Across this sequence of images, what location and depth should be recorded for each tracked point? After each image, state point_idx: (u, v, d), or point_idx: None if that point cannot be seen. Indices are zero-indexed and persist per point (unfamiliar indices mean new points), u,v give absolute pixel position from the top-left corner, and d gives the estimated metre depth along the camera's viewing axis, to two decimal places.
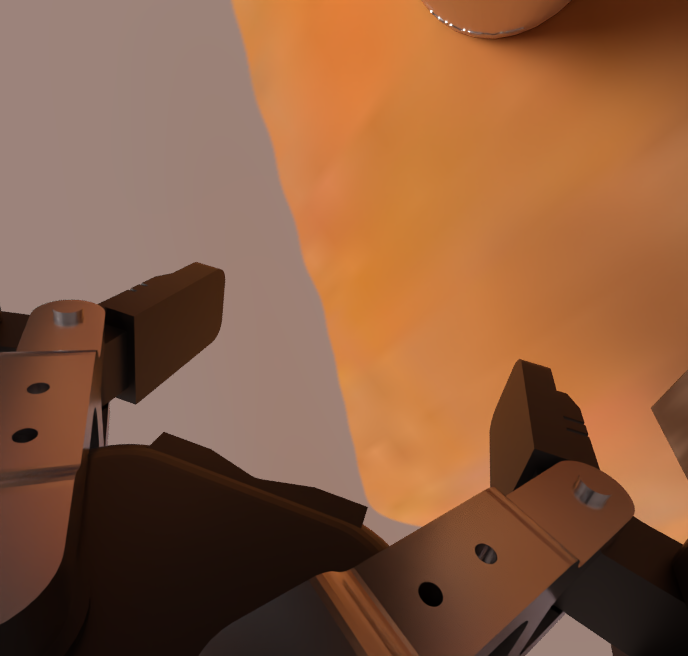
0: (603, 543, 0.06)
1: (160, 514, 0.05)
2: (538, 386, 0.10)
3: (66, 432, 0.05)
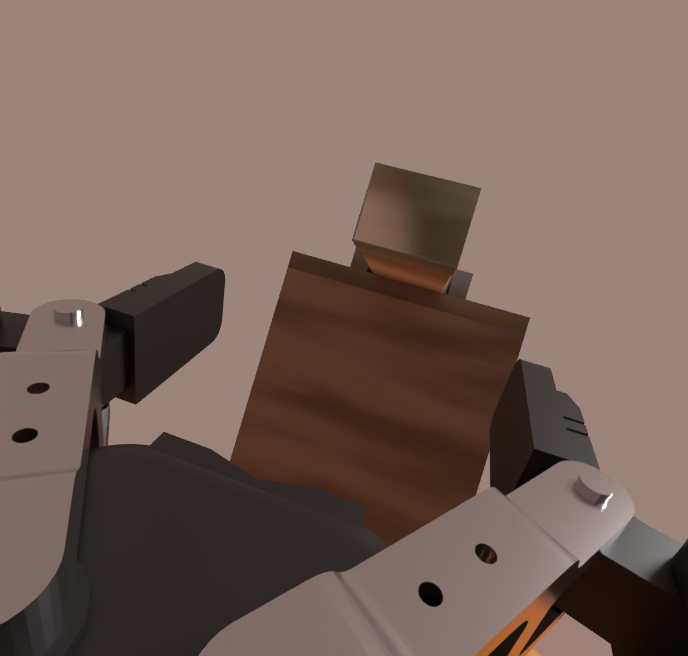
0: (603, 543, 0.06)
1: (160, 514, 0.05)
2: (538, 386, 0.10)
3: (66, 433, 0.05)
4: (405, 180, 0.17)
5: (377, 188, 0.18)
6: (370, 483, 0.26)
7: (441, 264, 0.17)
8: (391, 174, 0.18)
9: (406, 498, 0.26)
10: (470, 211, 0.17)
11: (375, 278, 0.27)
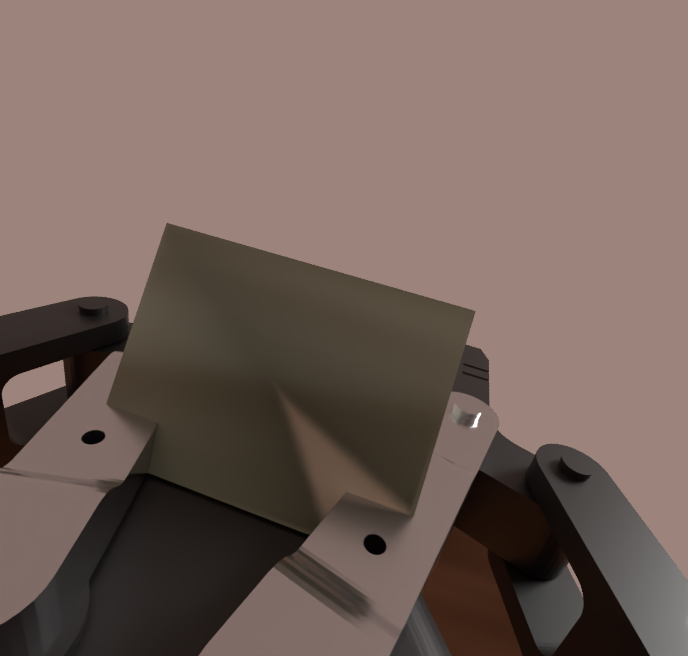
0: (459, 447, 0.07)
1: (160, 514, 0.05)
2: None
3: (128, 444, 0.05)
4: (248, 278, 0.06)
5: (168, 299, 0.06)
6: None
7: None
8: (209, 259, 0.06)
9: None
10: (441, 382, 0.05)
11: None
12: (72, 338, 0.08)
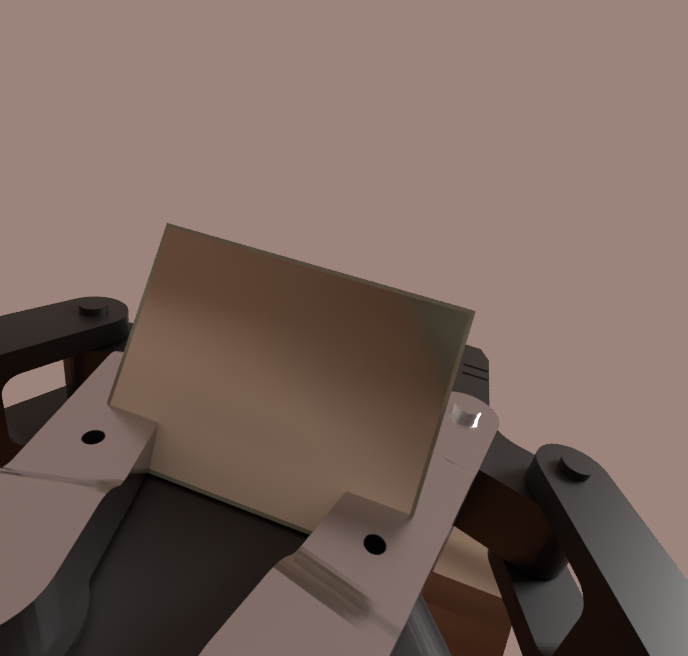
0: (459, 447, 0.07)
1: (160, 514, 0.05)
2: None
3: (128, 443, 0.05)
4: (248, 278, 0.06)
5: (168, 299, 0.06)
6: None
7: None
8: (209, 259, 0.06)
9: None
10: (441, 382, 0.05)
11: None
12: (72, 338, 0.08)
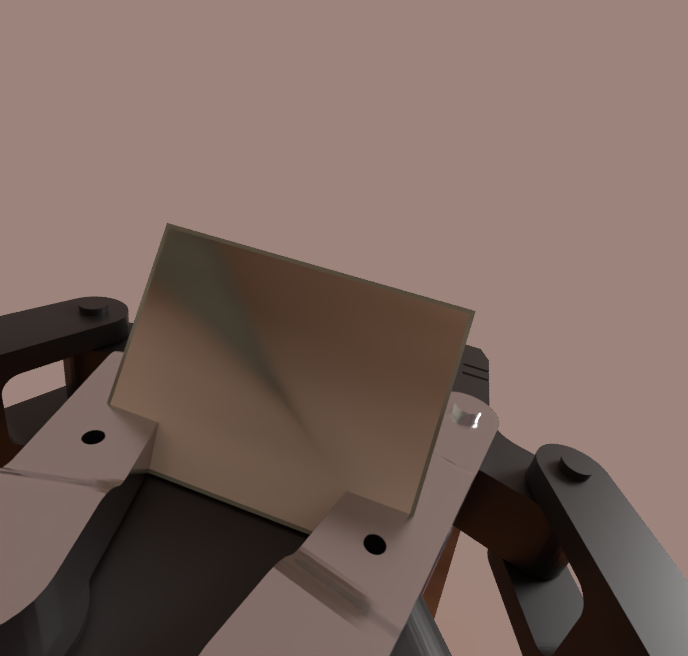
0: (459, 447, 0.07)
1: (160, 514, 0.05)
2: None
3: (127, 443, 0.05)
4: (248, 278, 0.06)
5: (168, 299, 0.06)
6: None
7: None
8: (209, 259, 0.06)
9: None
10: (441, 382, 0.05)
11: None
12: (72, 338, 0.08)
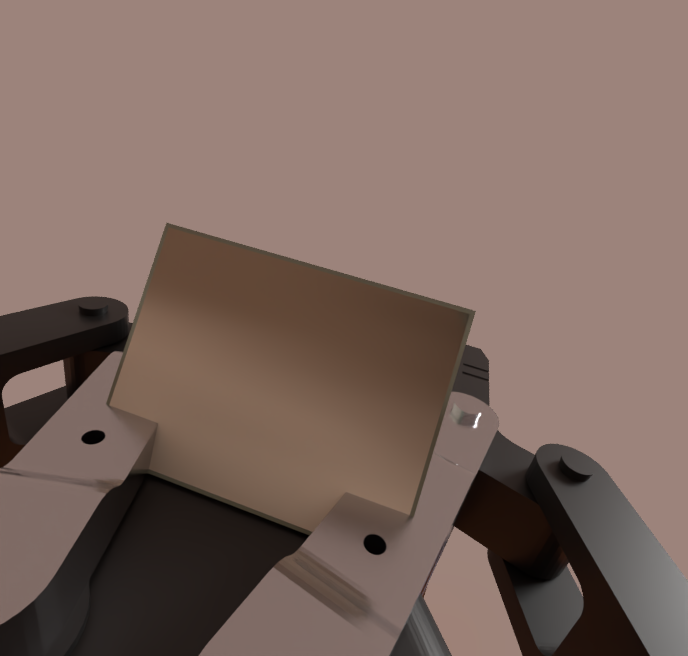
0: (459, 447, 0.07)
1: (160, 514, 0.05)
2: None
3: (128, 443, 0.05)
4: (248, 278, 0.06)
5: (168, 299, 0.06)
6: None
7: None
8: (209, 259, 0.06)
9: None
10: (441, 382, 0.05)
11: None
12: (72, 338, 0.08)
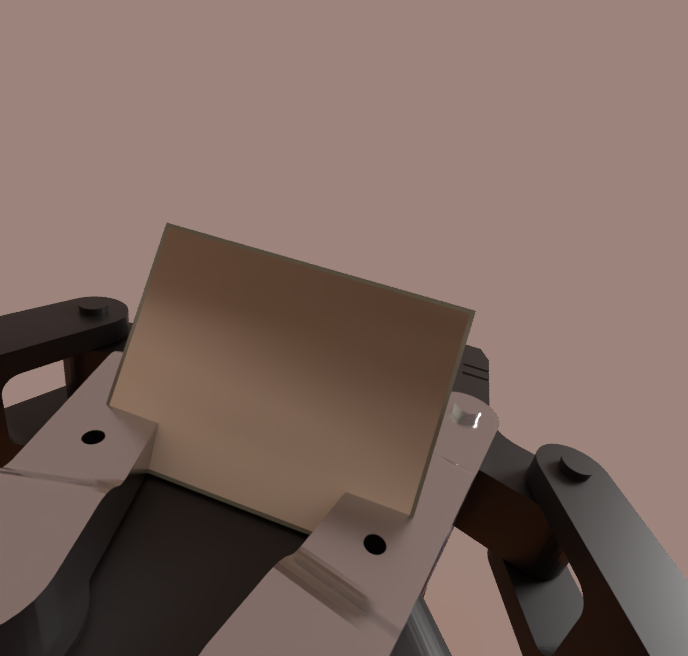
0: (459, 447, 0.07)
1: (160, 514, 0.05)
2: None
3: (128, 443, 0.05)
4: (248, 277, 0.06)
5: (168, 298, 0.06)
6: None
7: None
8: (209, 258, 0.06)
9: None
10: (441, 382, 0.05)
11: None
12: (72, 338, 0.08)
